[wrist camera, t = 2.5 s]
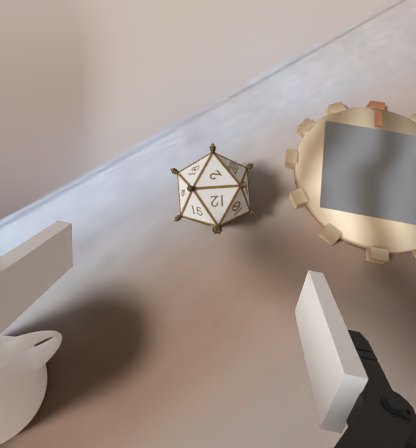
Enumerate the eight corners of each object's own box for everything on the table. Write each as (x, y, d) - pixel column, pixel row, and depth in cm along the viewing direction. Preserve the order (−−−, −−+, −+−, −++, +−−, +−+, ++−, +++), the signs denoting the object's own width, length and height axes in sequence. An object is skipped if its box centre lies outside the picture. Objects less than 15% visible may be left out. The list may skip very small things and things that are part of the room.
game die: (204, 208, 38) (199, 127, 33) (267, 224, 34) (274, 135, 29) (158, 243, 32) (145, 150, 27) (230, 268, 28) (230, 164, 23)
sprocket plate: (455, 122, 40) (464, 114, 38) (477, 282, 32) (490, 279, 30) (292, 95, 41) (295, 86, 40) (274, 243, 33) (277, 238, 32)
